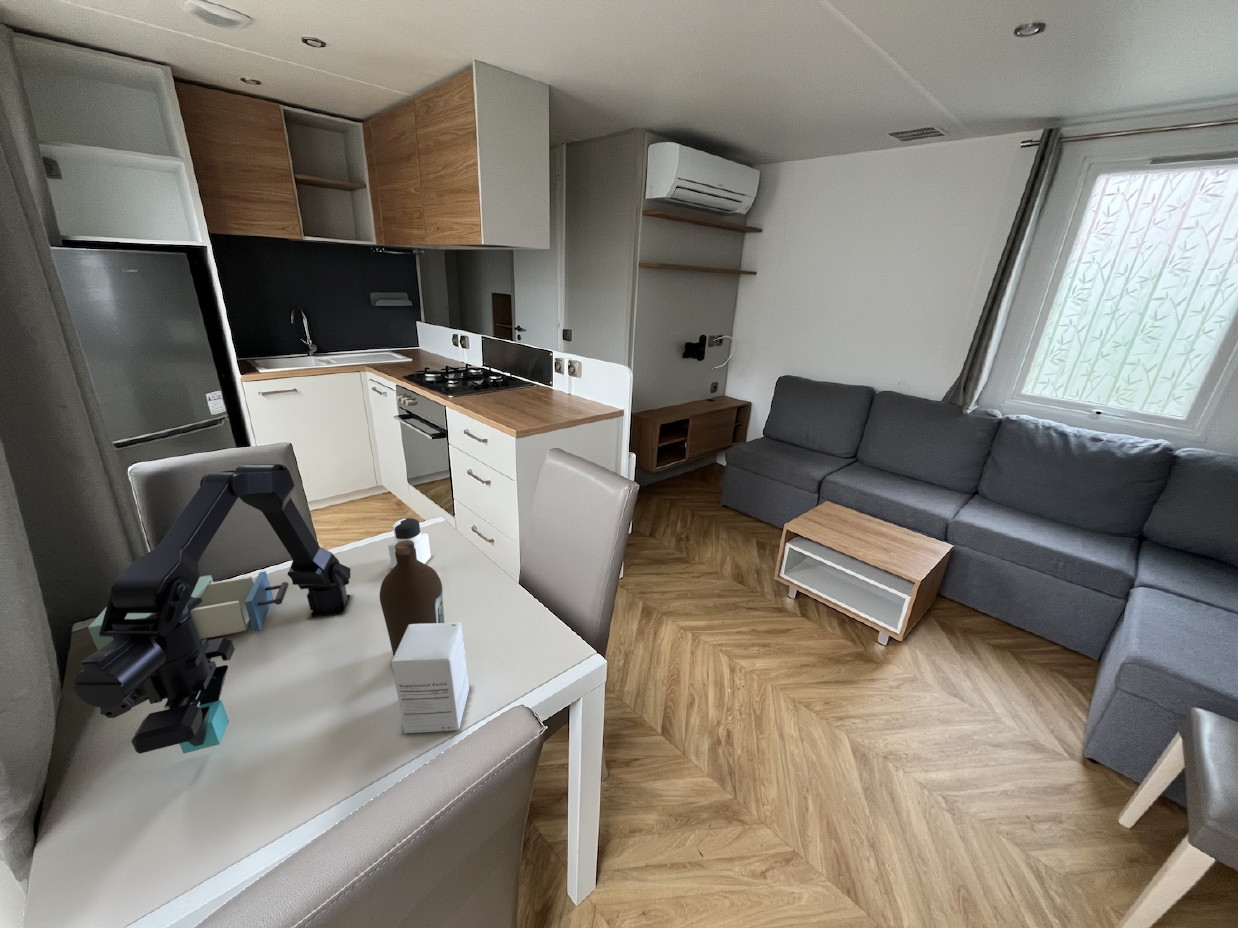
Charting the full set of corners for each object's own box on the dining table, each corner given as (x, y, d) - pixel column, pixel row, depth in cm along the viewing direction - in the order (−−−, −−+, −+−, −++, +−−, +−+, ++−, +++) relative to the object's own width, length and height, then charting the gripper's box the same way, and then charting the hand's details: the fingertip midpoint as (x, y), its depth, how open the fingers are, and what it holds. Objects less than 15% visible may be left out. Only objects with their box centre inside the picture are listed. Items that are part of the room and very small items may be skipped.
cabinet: (222, 610, 108) (211, 574, 104) (201, 648, 97) (188, 609, 94) (137, 625, 102) (122, 588, 99) (105, 667, 92) (87, 627, 88)
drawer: (295, 595, 112) (288, 567, 109) (284, 626, 102) (276, 596, 99) (199, 612, 106) (189, 583, 103) (177, 647, 96) (166, 616, 93)
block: (229, 721, 78) (221, 699, 76) (219, 744, 74) (211, 722, 72) (194, 729, 76) (186, 707, 75) (183, 753, 72) (174, 731, 71)
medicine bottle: (431, 557, 130) (426, 516, 126) (418, 572, 123) (412, 529, 119) (405, 555, 130) (399, 514, 126) (391, 569, 124) (384, 527, 120)
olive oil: (389, 683, 89) (368, 564, 81) (393, 645, 99) (374, 534, 90) (451, 669, 93) (436, 554, 84) (449, 633, 102) (435, 526, 93)
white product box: (418, 690, 88) (408, 622, 83) (470, 688, 89) (462, 620, 83) (402, 734, 79) (389, 661, 74) (459, 731, 80) (450, 658, 75)
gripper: (133, 621, 74) (164, 700, 80) (57, 717, 58) (103, 808, 64) (222, 605, 78) (246, 681, 84) (174, 691, 62) (208, 779, 68)
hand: (205, 731), depth 75 cm, fingers closed on block, 4 cm apart
